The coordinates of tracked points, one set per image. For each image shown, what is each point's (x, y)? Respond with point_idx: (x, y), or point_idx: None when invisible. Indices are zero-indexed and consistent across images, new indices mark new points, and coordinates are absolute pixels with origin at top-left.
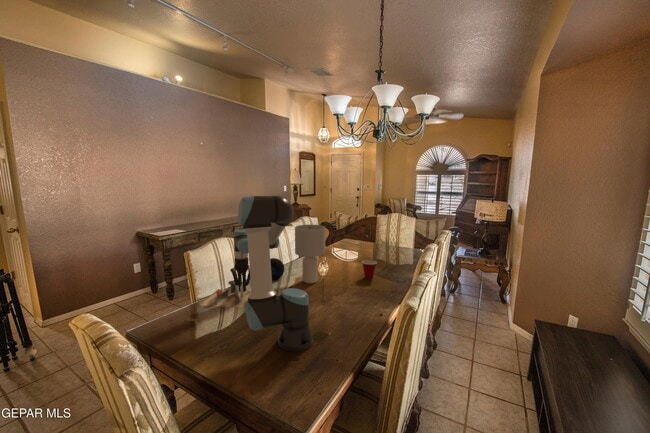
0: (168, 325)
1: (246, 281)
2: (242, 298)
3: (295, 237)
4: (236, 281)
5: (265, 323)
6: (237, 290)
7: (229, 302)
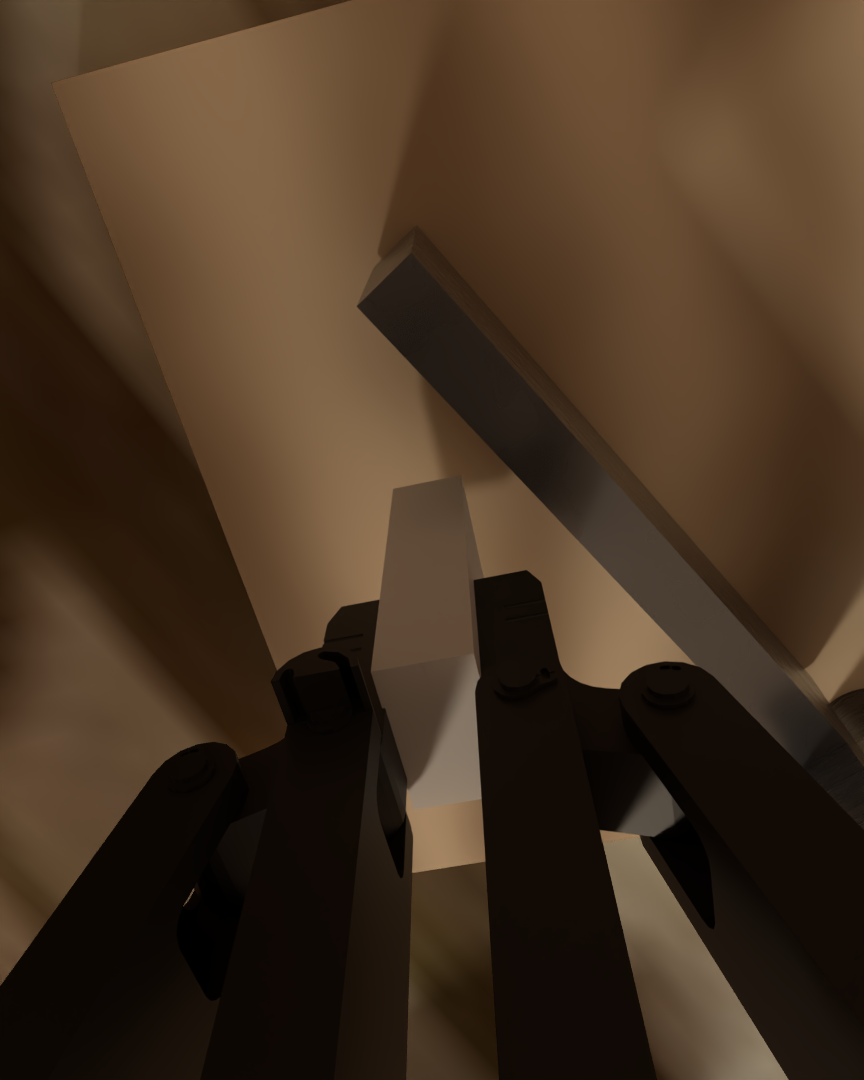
0: None
1: (149, 904)
2: None
3: None
4: (691, 798)
5: None
6: None
7: (668, 233)
